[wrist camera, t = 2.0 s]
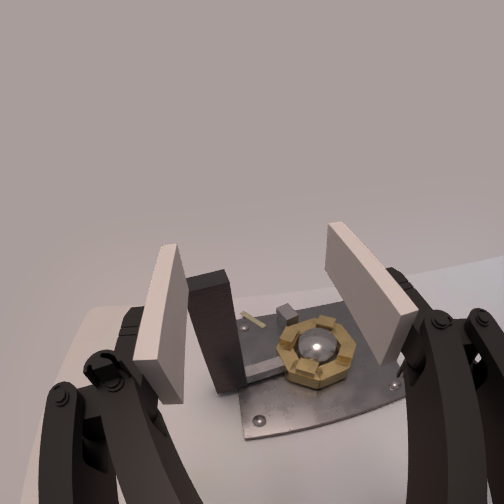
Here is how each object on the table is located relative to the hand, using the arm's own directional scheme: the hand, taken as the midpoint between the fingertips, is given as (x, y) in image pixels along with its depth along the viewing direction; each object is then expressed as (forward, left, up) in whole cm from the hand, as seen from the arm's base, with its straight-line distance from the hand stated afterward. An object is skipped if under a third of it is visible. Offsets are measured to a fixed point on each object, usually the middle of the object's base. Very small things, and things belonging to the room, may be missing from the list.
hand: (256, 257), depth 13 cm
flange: (-8, -10, -25) cm, 28 cm away
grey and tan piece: (-4, -9, -24) cm, 26 cm away
